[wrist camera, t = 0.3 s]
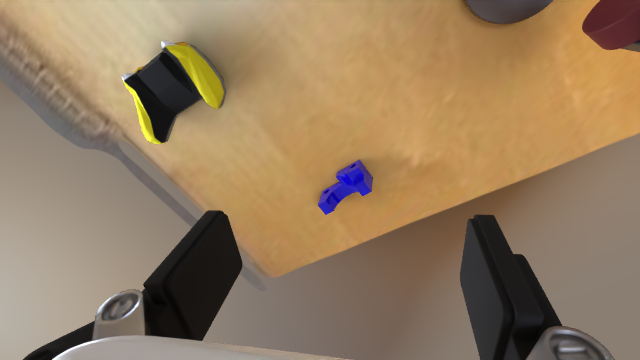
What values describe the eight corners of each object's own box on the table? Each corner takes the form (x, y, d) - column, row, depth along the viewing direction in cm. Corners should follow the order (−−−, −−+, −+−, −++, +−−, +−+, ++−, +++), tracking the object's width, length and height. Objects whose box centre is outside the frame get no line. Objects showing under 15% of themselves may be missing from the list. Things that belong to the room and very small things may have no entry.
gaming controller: (243, 93, 43) (197, 24, 39) (225, 104, 38) (172, 26, 34) (173, 137, 49) (128, 80, 45) (150, 151, 44) (98, 89, 40)
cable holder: (359, 159, 44) (357, 172, 41) (372, 177, 45) (371, 191, 42) (317, 184, 48) (311, 197, 44) (330, 200, 49) (325, 214, 45)
